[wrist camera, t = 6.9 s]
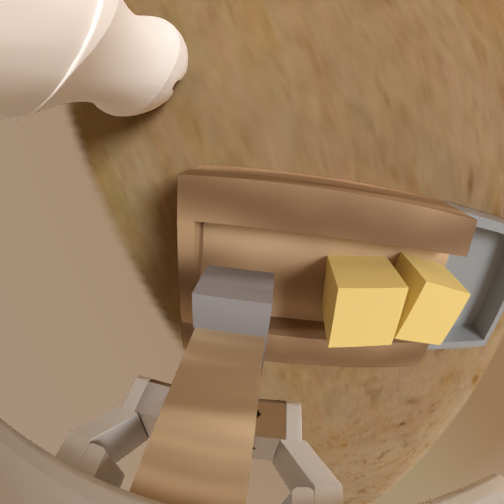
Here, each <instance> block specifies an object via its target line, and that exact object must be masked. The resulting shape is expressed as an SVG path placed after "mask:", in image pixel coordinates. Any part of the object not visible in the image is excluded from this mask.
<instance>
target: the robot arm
mask: <svg viewBox="0 0 504 504" xmlns="http://www.w3.org/2000/svg"><path fill="white" fill-rule="evenodd" d="M170 387H171V384H169V383H165V382H161V381H157V380H154V379H150V378H146V377H143V376H138V377H137V378H136V379H135V381H134V383H133V385H132V387H131V389H130V391H129V392H128V394H127V396H126V398H125V400H124V402H123V404H122V405H121V407H119V406H117V407H115V408H113V409H111V410H109V411H107V412H105V413H103V414H102V415H100V416H98V417H96V418H94V419H92V420H90V421H88V422H86V423H85V424H82V425H81V426H78V427H76V428H75V429H72V430H70V432H69V433H68V435H67V437H66V438H65V440H64V442H63V444H62V445H61V447H60V449H59V451H58V453H57V454H56V456H53V455H52V454H50V453H49V452H47V451H45V450H44V449H42V448H41V447H39V446H38V445H36V444H35V443H33V442H32V441H30V440H29V439H27V438H25V437H24V436H23V435H22V434H20V433H19V432H17V431H16V430H15V429H13V428H12V427H11V426H10V425H8V424H7V423H6V422H4V421H3V420H2V419H1V418H0V504H166V503H163V502H159V501H156V500H153V499H150V498H146V497H143V496H140V495H138V494H135V493H132V492H129V491H126V490H124V489H121V488H120V486H121V483H122V481H123V478H124V473H123V472H122V470H120V468H119V467H118V466H117V464H116V462H118V461H119V460H120V459H122V458H123V457H124V456H126V455H127V454H129V453H130V452H131V451H133V450H134V449H135V448H137V447H138V446H140V445H141V444H142V443H143V442H145V441H146V440H147V439H148V438H150V436H151V434H152V431H153V429H154V426H155V424H156V421H157V419H158V416H159V414H160V411H161V409H162V406H163V404H164V401H165V399H166V396H167V394H168V392H169V389H170ZM252 458H255V459H263V460H272V462H273V464H274V465H275V467H276V469H277V471H278V472H279V474H280V476H281V477H282V479H283V481H284V482H285V484H286V485H287V487H288V489H289V490H290V492H291V493H290V494H289V495H288V497H287V498H286V499H285V500H284V502H283V503H282V504H343V489H342V484H341V483H340V482H339V481H338V480H337V478H336V477H335V476H334V475H333V474H332V472H331V471H330V470H329V469H328V468H327V466H326V465H325V464H324V463H323V461H322V460H321V459H320V458H319V456H318V455H317V454H316V453H315V451H314V450H313V449H312V448H311V446H310V445H309V444H308V443H307V441H304V440H302V421H301V404H300V402H289V401H286V402H285V401H280V400H267V399H258V408H257V417H256V426H255V435H254V443H253V451H252ZM418 504H504V477H503V476H501V475H499V474H492V475H489V476H487V477H485V478H483V479H481V480H479V481H477V482H474V483H472V484H470V485H468V486H465V487H463V488H460V489H458V490H456V491H453V492H450V493H448V494H445V495H442V496H439V497H436V498H434V499H430V500H427V501H424V502H421V503H418Z"/></svg>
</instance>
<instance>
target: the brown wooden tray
mask: <svg viewBox="0 0 504 504" xmlns="http://www.w3.org/2000/svg"><path fill="white" fill-rule="evenodd" d="M477 221H478V220H476V219H474V218H473V217H471V216H469V215H468V214H466V213H464V212H462V211H460V210H459V209H457V208H455V207H453V206H451V205H449V204H448V203H446V202H444V201H442V200H438V199H434V198H430V197H426V196H422V195H418V194H414V193H409V192H405V191H400V190H396V189H391V188H386V187H381V186H376V185H371V184H365V183H360V182H354V181H348V180H342V179H336V178H330V177H323V176H316V175H309V174H302V173H294V172H286V171H277V170H268V169H258V168H248V167H236V166H222V165H207V164H202V165H200V166H197V167H195V168H192V169H190V170H187V171H185V172H183V173H180V174H178V177H177V246H178V276H179V295H180V311H181V325H182V337H183V348H184V349H186V348H187V346H188V343H189V341H190V339H191V336H192V334H193V311H192V292H193V291H194V289H195V287H196V285H197V283H198V281H199V280H200V278H201V276H202V274H203V272H204V270H205V269H206V267H207V265H213V266H220V267H228V268H237V269H245V270H253V271H262V272H270V273H274V286H273V303H272V310H271V317H270V323H269V330H268V336H267V343H266V349H265V355H264V361H270V362H280V363H291V364H304V365H319V366H339V367H409V366H417V365H418V364H419V362H420V360H421V358H422V357H423V355H424V353H425V351H426V349H427V348H428V346H429V344H428V343H421V342H413V341H407V340H400V339H395V338H393V341H392V344H391V345H380V346H362V347H331V348H328V343H327V337H326V331H325V326H324V320H323V315H322V309H321V308H322V300H323V291H324V283H325V274H326V264H327V255H338V256H386V257H387V258H388V260H389V261H390V262H391V264H392V265H393V266H394V267H395V265H396V263H397V260H398V258H399V256H400V253H401V252H404V253H407V254H410V255H413V256H416V257H419V258H422V259H426V260H429V261H432V262H435V263H438V264H441V265H444V266H445V267H446V264H447V261H448V258H449V255H450V254H452V255H458V256H464V257H467V255H468V252H469V249H470V245H471V242H472V239H473V235H474V232H475V228H476V225H477Z"/></svg>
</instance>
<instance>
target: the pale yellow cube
mask: <svg viewBox="0 0 504 504" xmlns="http://www.w3.org/2000/svg"><path fill="white" fill-rule="evenodd" d="M394 268H395V269H396V270H397V272H398V273H399V275H400V276H401V277H402V279H403V280H404V282H405V283H406V284H407V286H408V287H409V288H408V292H407V296H406V300H405V303H404V307H403V310H402V313H401V317H400V320H399V323H398V326H397V329H396V333H395V336H394V338H395V339H400V340H407V341H413V342H421V343H428V344H436V345H441V343H442V342H443V340H444V339H445V337H446V336H447V334H448V333H449V331H450V330H451V328H452V326H453V325H454V323H455V321H456V320H457V318H458V316H459V315H460V313H461V311H462V310H463V308H464V306H465V304H466V302H467V301H468V299H469V297H470V295H471V294H470V293H469V292H468V290H467V289H466V288H465V287H464V286H463V285H462V284H461V283H460V282H459V281H458V280H457V279H456V278H455V277H454V276H453V275H452V273H451V272H450V271H449V270H448V269H447V268H446V267H445V266H444V265H441V264H438V263H435V262H432V261H429V260H426V259H422V258H419V257H416V256H413V255H410V254H407V253H404V252H401V253H400V256H399V258H398V260H397V263H396V265H395V267H394Z"/></svg>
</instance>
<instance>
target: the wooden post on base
mask: <svg viewBox="0 0 504 504" xmlns="http://www.w3.org/2000/svg"><path fill="white" fill-rule="evenodd" d="M273 286H274V273H270V272H262V271H253V270H245V269H237V268H228V267H220V266H213V265H207V267H206V269H205V270H204V272H203V274H202V276H201V278H200V280H199V281H198V283H197V285H196V287H195V289H194V291H193V292H192V311H193V334H192V336H191V339H190V341H189V343H188V346H187V348H186V351H185V353H184V355H183V358H182V360H181V363H180V365H179V368H178V370H177V372H176V375H175V377H174V379H173V382H172V384H171V387H170V389H169V392H168V394H167V396H166V399H165V401H164V404H163V406H162V409H161V411H160V414H159V416H158V419H157V421H156V424H155V426H154V429H153V431H152V434H151V436H150V439H149V442H148V444H147V447H146V449H145V452H144V454H143V457H142V460H141V462H140V465H139V467H138V470H137V473H136V476H135V478H134V481H133V483H132V486H131V489H130V491H129V492H132V493H135V494H138V495H140V496H143V497H146V498H150V499H153V500H156V501H159V502H163V503H166V504H246V498H247V491H248V483H249V475H250V467H251V459H252V451H253V443H254V435H255V426H256V417H257V408H258V399H259V390H260V380H261V373H262V367H263V361H264V355H265V349H266V343H267V336H268V330H269V323H270V317H271V310H272V303H273Z"/></svg>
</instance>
